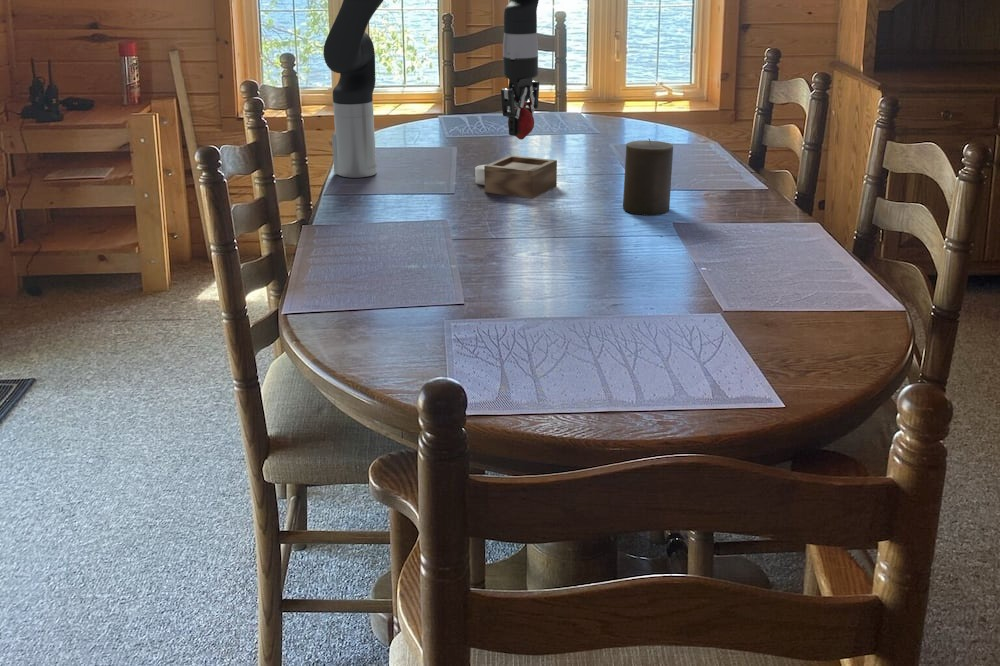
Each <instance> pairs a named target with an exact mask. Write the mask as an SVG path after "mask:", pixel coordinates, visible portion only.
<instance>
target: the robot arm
mask: <svg viewBox="0 0 1000 666" xmlns="http://www.w3.org/2000/svg"><path fill="white" fill-rule="evenodd" d="M383 2H384V0H343V1H342V3H341V6H340V8H339V11H338V12H337V15H336V17H335V19H334V22H333V24H332V26H331V28H330V31H329V33H328V35H327V37H326V39H325V41H324V44H323V59H324V62H325V64H326V66H327V68H328V69H330V70H331V71H332V72H333V73H336V74H339V75H340V76H339V79H338V82H337V83H336V86H335V87H334V88H333V89H332V102H333V103H332V105H333V119H334V121H333V123H334V133H332V134H331V145H332V159H333V160H332V161H333V171H334V172H333V173H334V175H338V176H340V177H343V178H354V179H355V178H365V177H371V176H374V175H376V174H377V155H376V153H377V152H376V135H375V133H376V132H375V120H374V119H375V118H374V117H375V115H374V101H373V97H374V95H373V94H374V91H375V87H376V52H375V46H374V43H373V41H372V39H371V36H370V35H369V34H368V33H367V32H366V30H367V27H368V24H369V22H370V21H371V19H372V17H373V15H374V14H375V13H376V11H377V10H378V9H379V7H380V5H382V3H383ZM539 2H540V0H509V3H508V4H507V5H506V6H505V8H504V10H503V11H504V13H503V39H502V40H503V41H502V75H503V77H504V78H506V79H508V86H507V88H501V91H500V96H501V97H500V98H501V110H502V116H503V117H506V118H509V128H508V135H509V136H513V137H516V136H517V135H519V114H520V109H522V108H523V104H524V107H525V108H526V109H528V110H529V111H530V112H531V114H532V115H533V114H534V112H535V110H537V109H538V107H539V93H540V92H539V91H540V81H537V80H533V79H535V78H537V77H538V75H539V42H538V41H539V40H538V33H537V32H538V22H537V21H538V20H537V18H538V15H537V14H538V12H537V11H538V6H539ZM515 109H516V111H515Z"/></svg>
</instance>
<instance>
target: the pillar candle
mask: <svg viewBox="0 0 1000 666" xmlns="http://www.w3.org/2000/svg"><path fill="white" fill-rule="evenodd" d="M625 145H626V146H625V161H624V162H625V163H624V180H623V196H622V197H623V198H622V208H623V211H625V212H626V211H627V213H629V212H630V213H631V214H633V213H634V215H640V214H642V215H641V216H646V215H647V216H657V215H656V214H660V215H663V213H665V214H667V213H668V212H669V211H670V207H671V206H670V205H671V203H670V202H671V188H672V186H671V185H672V173H673V171H672V170H673V158H674V145H673V143H671V142H670V143H669V142H665V141H659V140H651V139H650V138H648V140H644V139H643V140H634V141H633V140H632V141H629V142H627V143H626V144H625ZM666 212H667V213H666ZM644 214H645V215H644Z"/></svg>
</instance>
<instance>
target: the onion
mask: <svg viewBox="0 0 1000 666" xmlns="http://www.w3.org/2000/svg"><path fill="white" fill-rule="evenodd" d="M515 111H516V108H515ZM507 127H508V129H509V118H508V119H507ZM534 127H535V118H534V116H533V115H532V114H531V112H530V111H529V110H528V109H526V108H525V107H524V104H523V108H522V109H520V114H519V135H517V136H515V137H516V138H517V139H519V140H524V139H525V138H526V137H528V136H529V134H530V133H532V132H533V129H534Z"/></svg>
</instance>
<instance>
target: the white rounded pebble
mask: <svg viewBox="0 0 1000 666" xmlns="http://www.w3.org/2000/svg"><path fill="white" fill-rule="evenodd" d="M485 165H486V164H480V165H477V166H475V168H474V171H475V172H474V173H475V183H476V184H478V185H482V186H485V172H484V166H485Z"/></svg>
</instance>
